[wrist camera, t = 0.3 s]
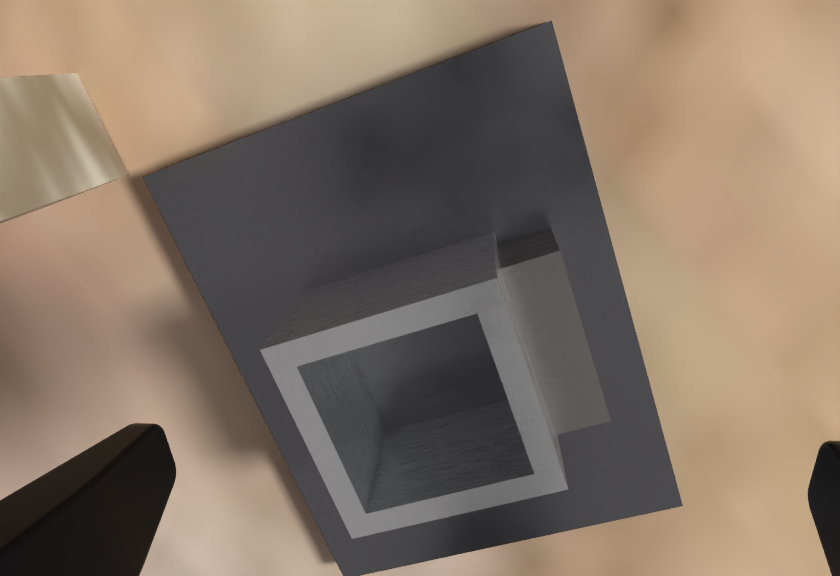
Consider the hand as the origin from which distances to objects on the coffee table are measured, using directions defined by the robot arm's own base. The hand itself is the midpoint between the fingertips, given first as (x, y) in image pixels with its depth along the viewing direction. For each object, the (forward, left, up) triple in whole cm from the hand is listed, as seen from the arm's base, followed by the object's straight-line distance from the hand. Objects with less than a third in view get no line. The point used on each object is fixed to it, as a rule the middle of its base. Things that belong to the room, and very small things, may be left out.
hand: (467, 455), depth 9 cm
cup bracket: (-5, +1, -14) cm, 15 cm away
